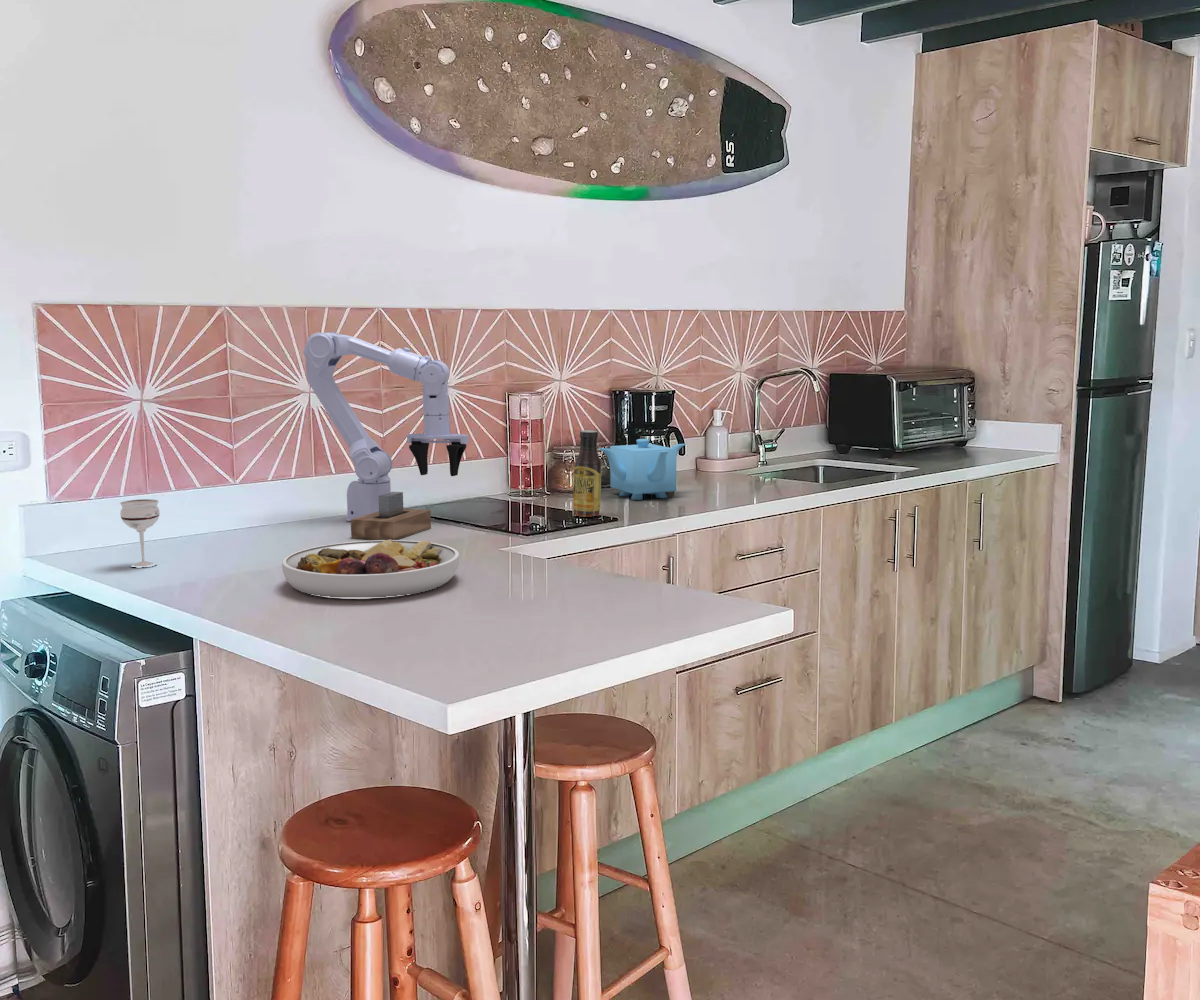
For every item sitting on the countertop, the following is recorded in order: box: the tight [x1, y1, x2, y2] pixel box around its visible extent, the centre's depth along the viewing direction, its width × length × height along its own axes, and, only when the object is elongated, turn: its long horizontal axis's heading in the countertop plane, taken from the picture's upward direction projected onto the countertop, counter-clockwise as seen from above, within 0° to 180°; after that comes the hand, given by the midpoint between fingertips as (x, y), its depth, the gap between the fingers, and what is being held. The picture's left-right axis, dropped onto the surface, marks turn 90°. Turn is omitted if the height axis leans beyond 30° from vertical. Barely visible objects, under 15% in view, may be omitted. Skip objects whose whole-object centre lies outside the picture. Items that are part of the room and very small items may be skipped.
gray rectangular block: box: [378, 491, 404, 519], centre depth 245 cm, size 2×6×8 cm, turn 160°
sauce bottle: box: [572, 429, 602, 518], centre depth 264 cm, size 7×6×20 cm
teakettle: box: [598, 438, 687, 501], centre depth 295 cm, size 19×19×15 cm
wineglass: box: [119, 498, 161, 566], centre depth 214 cm, size 7×7×12 cm
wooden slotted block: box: [350, 508, 432, 541], centre depth 246 cm, size 10×16×4 cm, turn 160°
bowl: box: [281, 539, 460, 597], centre depth 200 cm, size 30×30×8 cm
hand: (439, 475), depth 260 cm, fingers open, 7 cm apart
